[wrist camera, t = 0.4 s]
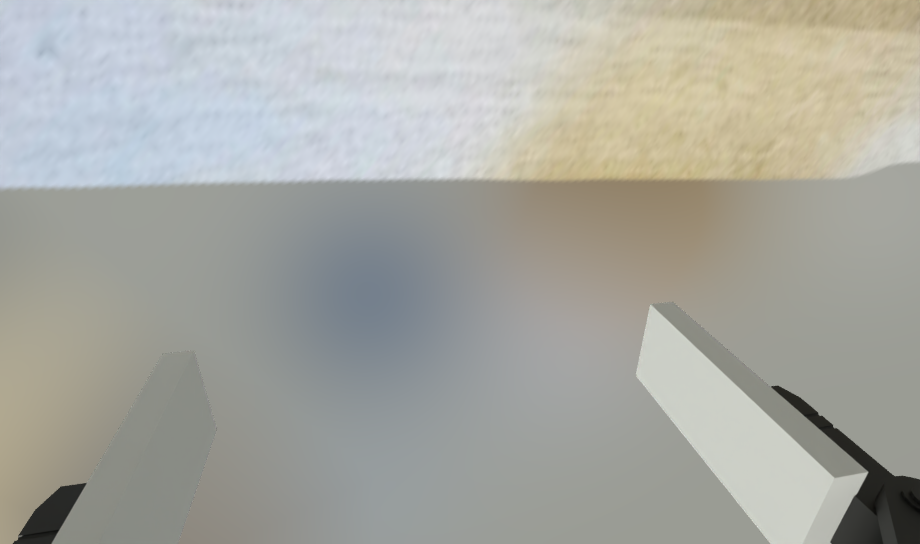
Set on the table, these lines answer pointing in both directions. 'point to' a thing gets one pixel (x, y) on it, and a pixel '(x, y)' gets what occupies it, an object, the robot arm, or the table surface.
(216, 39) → the table surface
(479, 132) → the table surface
